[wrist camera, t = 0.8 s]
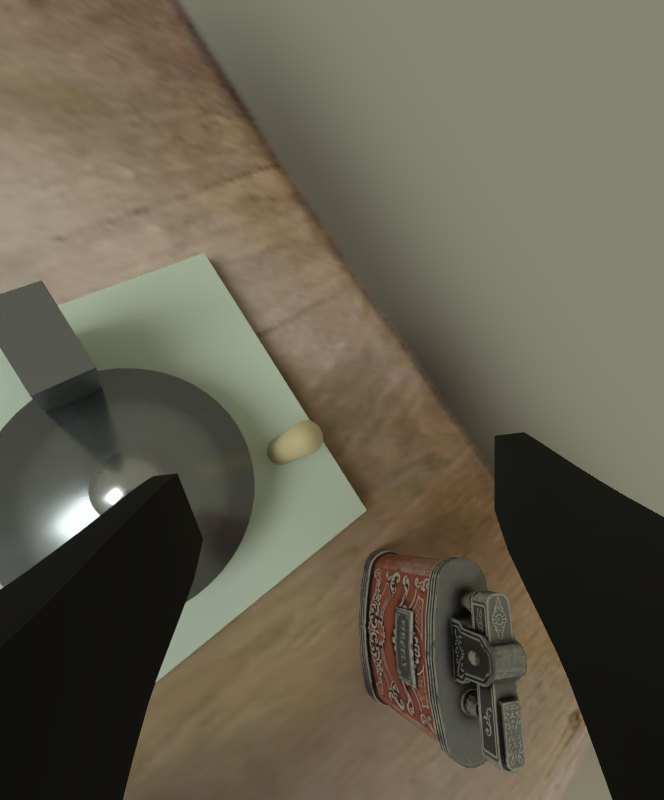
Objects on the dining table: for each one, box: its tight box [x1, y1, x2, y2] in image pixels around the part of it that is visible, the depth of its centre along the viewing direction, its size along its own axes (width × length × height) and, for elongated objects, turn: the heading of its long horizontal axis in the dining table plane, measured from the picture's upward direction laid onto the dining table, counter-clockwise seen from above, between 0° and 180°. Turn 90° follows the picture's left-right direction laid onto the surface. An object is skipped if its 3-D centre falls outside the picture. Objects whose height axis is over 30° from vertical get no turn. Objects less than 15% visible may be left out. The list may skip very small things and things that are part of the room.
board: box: [0, 253, 367, 683], centre depth 20 cm, size 18×18×6 cm
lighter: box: [358, 550, 527, 773], centre depth 21 cm, size 8×3×10 cm, turn 0°
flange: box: [0, 281, 255, 602], centre depth 19 cm, size 14×11×4 cm
